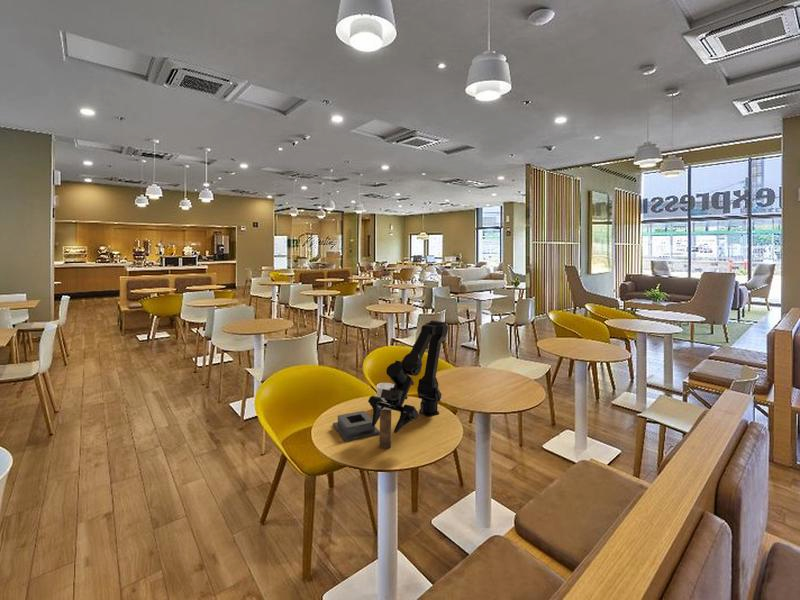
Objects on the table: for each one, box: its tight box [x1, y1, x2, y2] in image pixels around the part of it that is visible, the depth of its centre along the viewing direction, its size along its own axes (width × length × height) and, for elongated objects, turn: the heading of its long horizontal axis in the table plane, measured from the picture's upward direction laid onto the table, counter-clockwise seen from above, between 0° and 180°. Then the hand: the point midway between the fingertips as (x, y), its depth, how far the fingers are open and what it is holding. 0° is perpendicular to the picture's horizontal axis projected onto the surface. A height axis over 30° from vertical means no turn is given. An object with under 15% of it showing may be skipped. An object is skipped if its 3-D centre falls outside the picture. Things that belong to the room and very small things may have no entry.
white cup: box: [376, 382, 395, 411], centre depth 179 cm, size 8×8×10 cm
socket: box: [332, 410, 380, 442], centre depth 158 cm, size 14×14×4 cm
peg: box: [379, 409, 392, 450], centre depth 146 cm, size 4×4×13 cm
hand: (383, 429), depth 145 cm, fingers open, 9 cm apart
